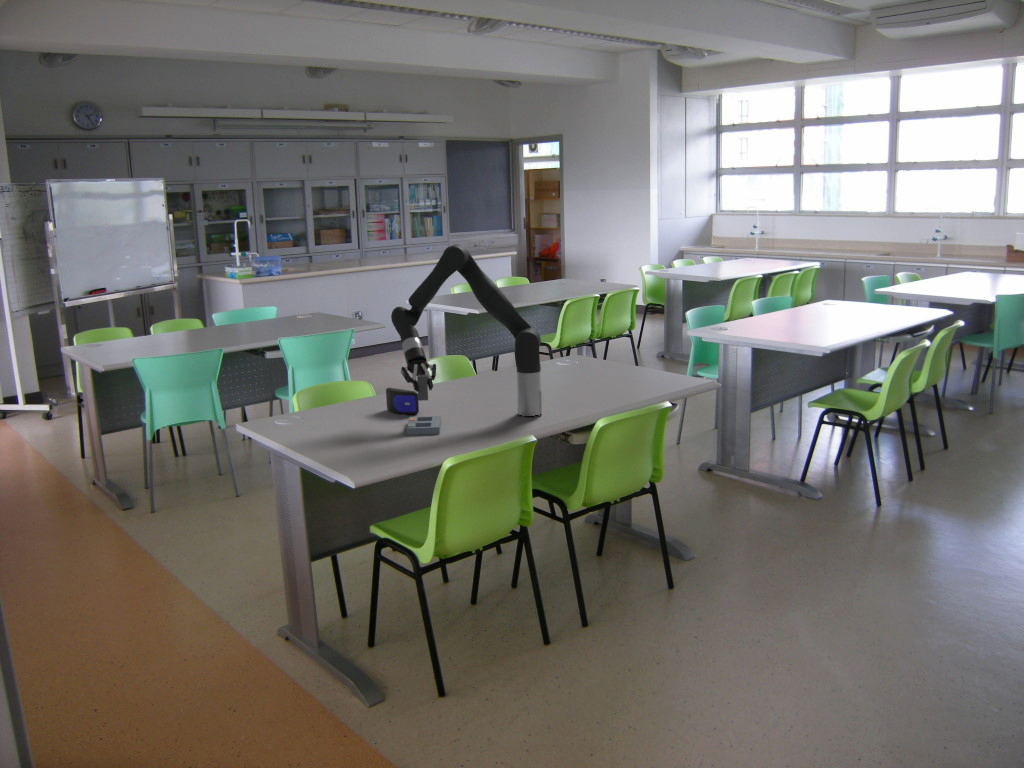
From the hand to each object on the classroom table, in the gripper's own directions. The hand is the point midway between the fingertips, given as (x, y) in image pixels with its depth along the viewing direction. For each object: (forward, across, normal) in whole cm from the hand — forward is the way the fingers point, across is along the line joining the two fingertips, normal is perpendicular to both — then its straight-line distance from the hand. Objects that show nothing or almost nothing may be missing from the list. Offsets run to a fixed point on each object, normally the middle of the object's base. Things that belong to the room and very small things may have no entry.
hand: (424, 389), depth 310 cm
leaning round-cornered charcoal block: (-7, -2, +28) cm, 29 cm away
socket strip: (+11, -1, +9) cm, 14 cm away
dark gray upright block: (+2, 0, +4) cm, 5 cm away
